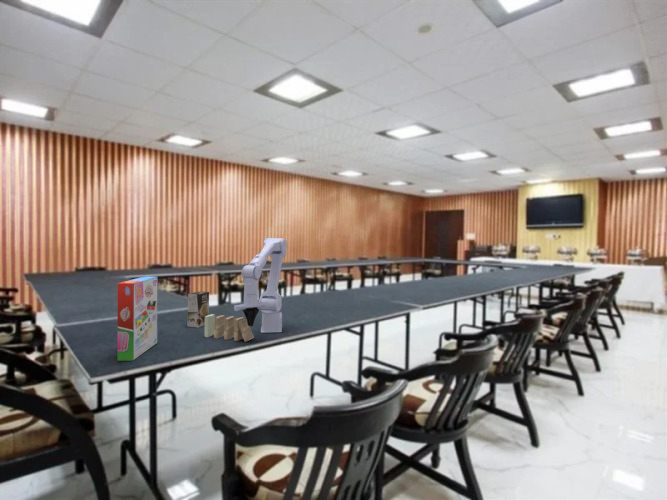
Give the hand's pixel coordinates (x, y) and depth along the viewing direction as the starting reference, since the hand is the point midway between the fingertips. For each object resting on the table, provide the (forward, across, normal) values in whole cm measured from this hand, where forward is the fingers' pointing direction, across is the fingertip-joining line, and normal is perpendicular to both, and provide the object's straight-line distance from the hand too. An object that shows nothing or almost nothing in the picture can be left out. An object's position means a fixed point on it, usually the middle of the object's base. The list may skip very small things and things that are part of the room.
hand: (250, 325), depth 151 cm
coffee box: (+7, +6, -39) cm, 40 cm away
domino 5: (+6, 0, 0) cm, 6 cm away
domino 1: (+6, +10, -18) cm, 21 cm away
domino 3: (+6, +5, -9) cm, 12 cm away
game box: (+7, +39, -13) cm, 42 cm away
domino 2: (+6, +7, -13) cm, 17 cm away
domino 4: (+6, +3, -5) cm, 8 cm away
